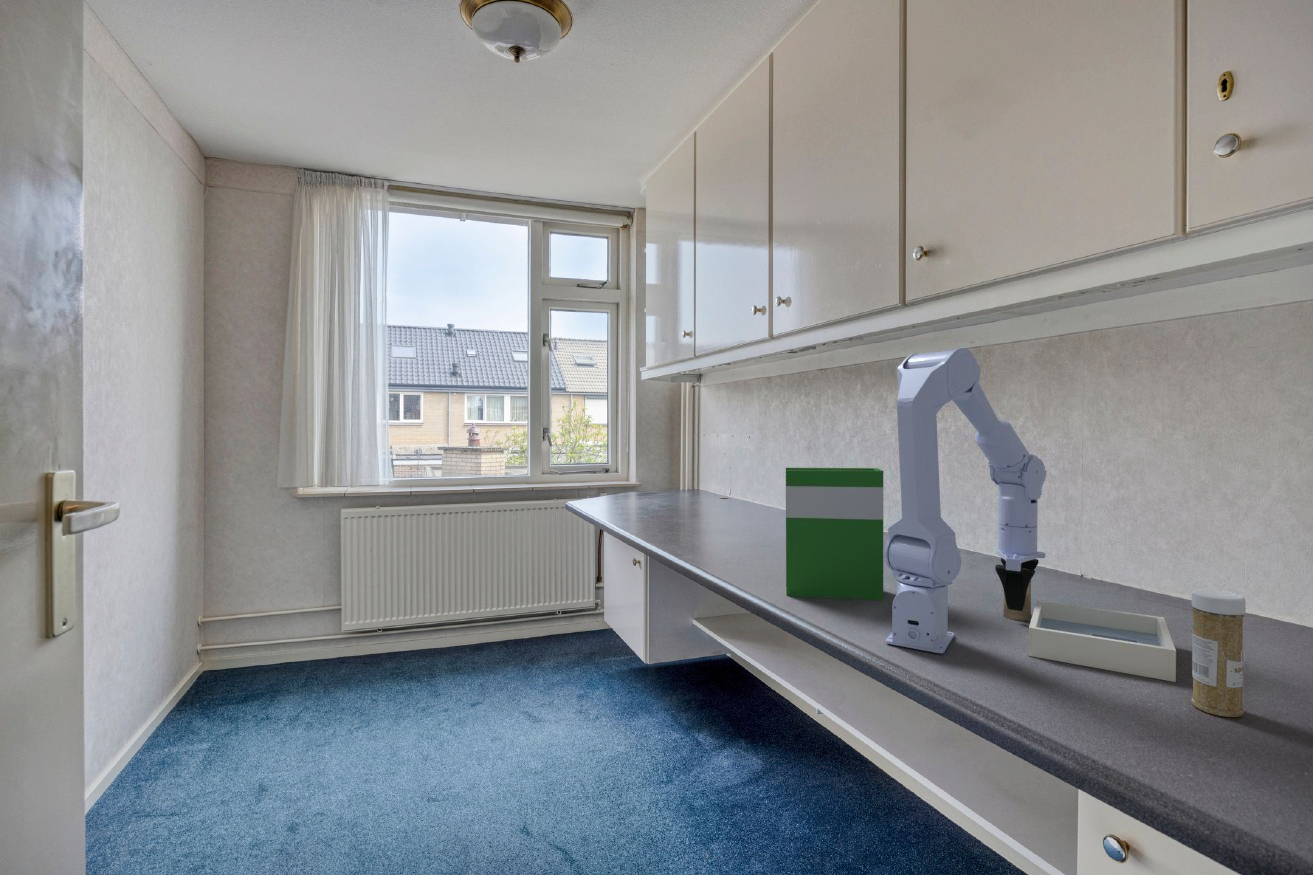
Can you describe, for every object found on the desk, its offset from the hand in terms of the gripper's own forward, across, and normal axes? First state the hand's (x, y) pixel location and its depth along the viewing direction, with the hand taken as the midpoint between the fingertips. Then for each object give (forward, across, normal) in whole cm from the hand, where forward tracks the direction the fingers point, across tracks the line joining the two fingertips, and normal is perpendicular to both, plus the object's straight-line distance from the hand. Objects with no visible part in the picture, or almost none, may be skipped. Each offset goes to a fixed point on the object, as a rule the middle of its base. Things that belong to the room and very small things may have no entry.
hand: (1017, 604), depth 105 cm
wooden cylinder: (+2, 0, 0) cm, 2 cm away
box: (+2, -11, -11) cm, 16 cm away
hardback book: (+2, -2, +31) cm, 31 cm away
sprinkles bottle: (+2, -26, -22) cm, 34 cm away
